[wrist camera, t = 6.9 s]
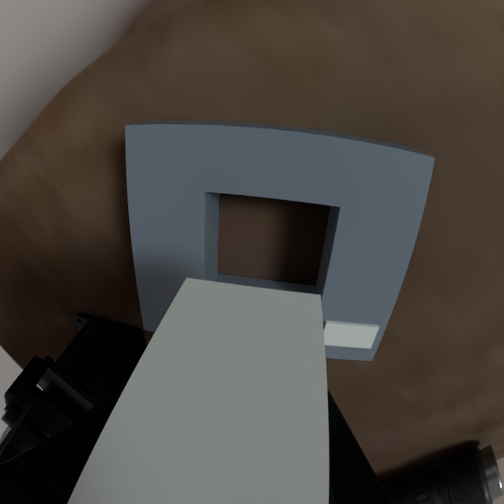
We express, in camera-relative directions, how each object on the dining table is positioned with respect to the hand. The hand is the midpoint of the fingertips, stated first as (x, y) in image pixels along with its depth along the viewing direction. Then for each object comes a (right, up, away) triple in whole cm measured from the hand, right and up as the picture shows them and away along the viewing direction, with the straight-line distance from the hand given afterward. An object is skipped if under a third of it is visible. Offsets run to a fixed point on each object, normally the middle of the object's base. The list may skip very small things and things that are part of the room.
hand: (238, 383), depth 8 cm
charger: (0, +1, +2) cm, 2 cm away
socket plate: (+1, +5, +9) cm, 11 cm away
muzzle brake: (+21, -28, +23) cm, 42 cm away
